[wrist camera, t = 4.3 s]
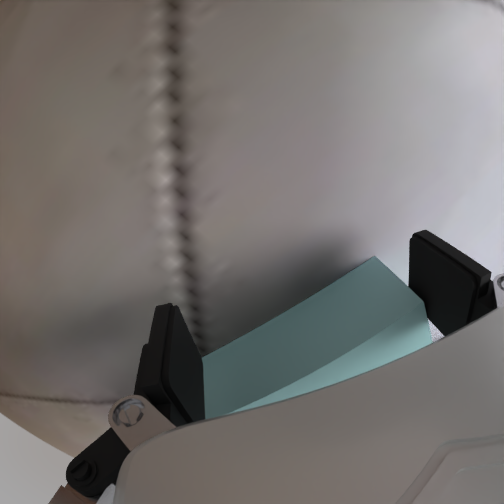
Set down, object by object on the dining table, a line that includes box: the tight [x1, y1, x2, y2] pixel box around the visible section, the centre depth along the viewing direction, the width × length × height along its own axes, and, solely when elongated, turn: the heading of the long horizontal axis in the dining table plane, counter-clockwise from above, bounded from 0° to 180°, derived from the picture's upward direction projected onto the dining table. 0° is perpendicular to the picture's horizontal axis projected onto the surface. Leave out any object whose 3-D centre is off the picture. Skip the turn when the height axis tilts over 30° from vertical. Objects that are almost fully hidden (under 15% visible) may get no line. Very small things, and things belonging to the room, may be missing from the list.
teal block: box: [202, 256, 432, 419], centre depth 14 cm, size 8×12×4 cm, turn 121°
